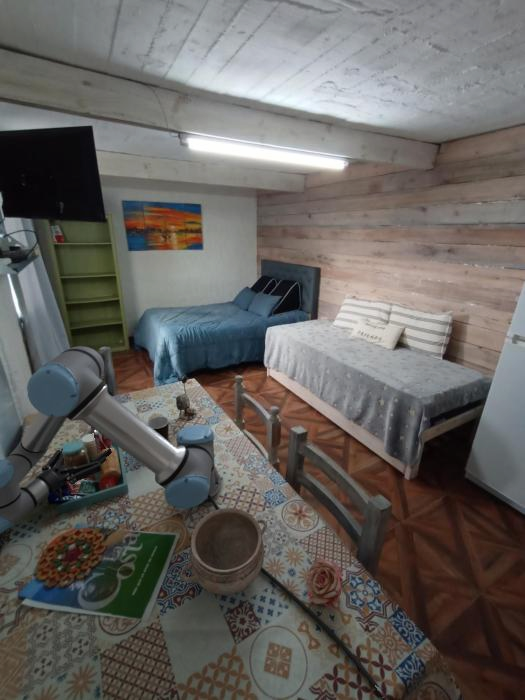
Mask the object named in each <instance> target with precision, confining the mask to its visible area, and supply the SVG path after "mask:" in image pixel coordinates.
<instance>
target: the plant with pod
mask: <svg viewBox="0 0 525 700" xmlns="http://www.w3.org/2000/svg"><path fill="white" fill-rule="evenodd" d="M187 382H188V377H187V375H186V374H184V375H183V376H182V377H181V383H182V384H183V388H184V392H183V393H182V394H181V393H180V394H179V395H177V396H175V406H176V409H177V410H178V411H179V418H178V419H179V420H180V419H182V420H186V421H189V420H192V419H193V418H194V417H195V416H196V415H197V413H198V410H197V409H196V408H193V407H191V401H190V398H189V396H188V394H187V391H186V385H185V384H186V383H187Z"/></svg>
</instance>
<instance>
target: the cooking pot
mask: <svg viewBox="0 0 525 700" xmlns="http://www.w3.org/2000/svg"><path fill="white" fill-rule="evenodd" d="M260 524H263V527H262V528H261V526H260ZM267 528H268V523H267V521H266V520H265V519H264V518H263V519H262V518H260V519H256V518H255V517H254V516H253V515H252V514H251V513H249V512H247V511H246V510H244V509H241V508H237V507H222V508H220V509H218V510H216V509H215V510H213V511H211V512H209V513H207V514H206V515H204V516H203V517H202V518H201V519H200V520H199V521H198V523H197V524H196V526H195V527H194V529H193V532H192V534H191V540H190V545H191V546H190V550H189V563H188V564H187V565H186V566H185V567H183V569H182V570H181V572H180V575H179V576H180V580H181V581H182V582H185V583H196V582H197V584H198V585H199V586H200V587H201V588H203V589H204V590H205V591H206V592H209V593H210V594H214V595H218V596H231V595H236V594H238V593H240V592H242V591H244V590H245V589H247V588H248V587H249V586H250V585H252V584H253V583H254V581H256V579H257V577H258V576H259V574H260V572H261V571H260V570H261V568H262V567H263V564H264V560H265V544H264V541H263V535H264V534H265V532H266V530H267ZM188 571H191V574H192V576H190V577H189V576H188V577H187V576H185V573H186V572H188Z"/></svg>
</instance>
